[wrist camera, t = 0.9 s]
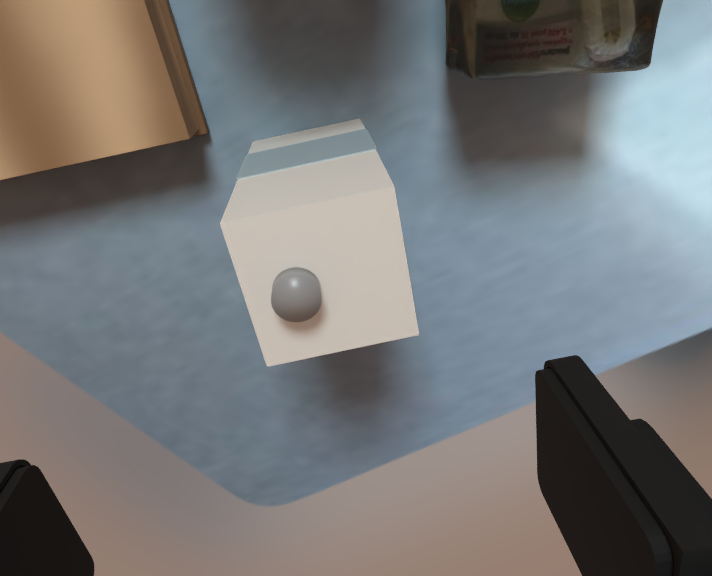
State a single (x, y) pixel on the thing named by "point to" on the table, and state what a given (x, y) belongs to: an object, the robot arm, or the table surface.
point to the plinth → (90, 82)
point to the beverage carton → (549, 36)
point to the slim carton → (319, 244)
